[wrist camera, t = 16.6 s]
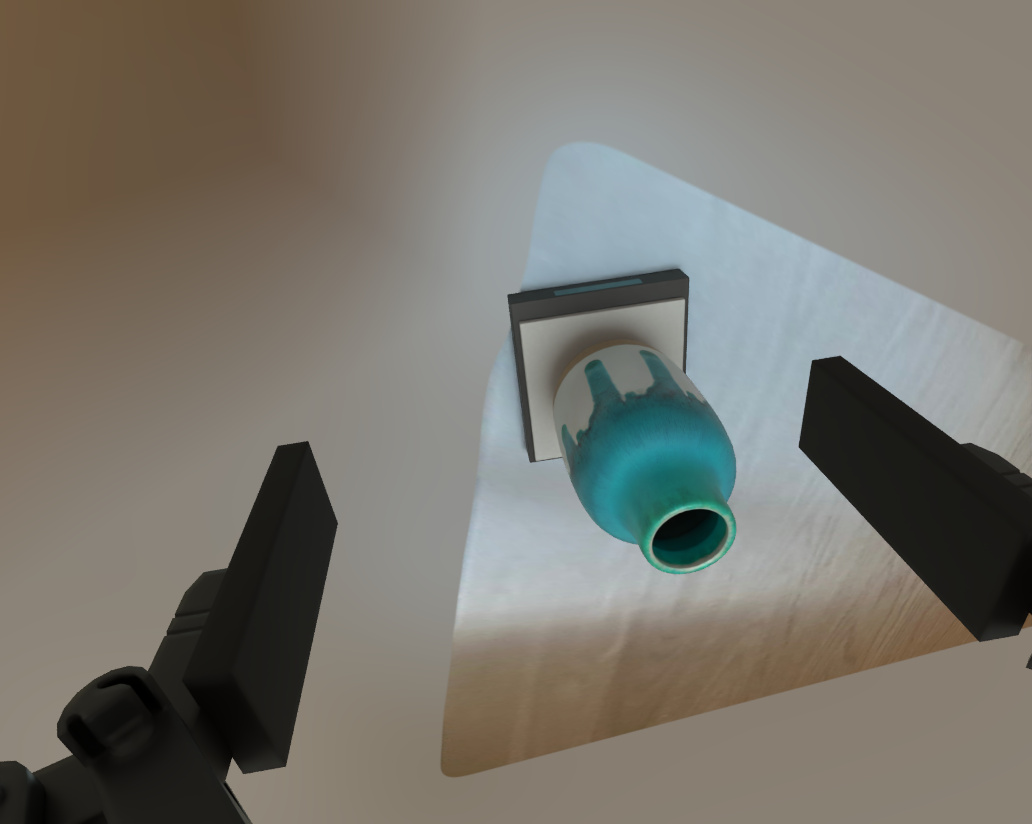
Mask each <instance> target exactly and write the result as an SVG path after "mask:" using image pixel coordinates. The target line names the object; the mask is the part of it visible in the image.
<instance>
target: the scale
mask: <svg viewBox="0 0 1032 824" xmlns="http://www.w3.org/2000/svg"><path fill="white" fill-rule="evenodd" d="M688 297H689V277H688V276H687V275H686V274H685V273H683V272H682V271H681V270H680V269H676V270H670V271H663V272H656V273H650V274H643V275H636V276H629V277H623V278H616V279H609V280H602V281H596V282H589V283H582V284H575V285H569V286H562V287H555V288H549V289H542V290H535V291H528V292H522V293H515V294H509V295H508V304H509V312H510V320H511V328H512V336H513V343H514V351H515V359H516V367H517V375H518V383H519V391H520V399H521V407H522V415H523V423H524V431H525V439H526V447H527V452H528V456H529V461H530V463H531V462H537V461H544V460H550V459H556V458H562V454H561V451H560V447H559V443H558V439H557V434H556V429H555V424H554V418H553V398H554V391H555V388H556V385H557V381H558V379H559V377H560V376H561V374H562V372H563V370H564V369H565V367H566V366H567V365H568V363H569V362H570V361H571V360H572V359H573V358H574V357H575V356H576V355H578V354H579V353H580V352H582V351H583V350H585V349H586V348H588V347H590V346H592V345H594V344H597V343H599V342H603V341H607V340H614V339H629V340H635V341H639V342H642V343H645V344H648V345H650V346H652V347H654V348H655V349H657V350H659V351H660V352H662V353H663V354H664V355H666V356H667V357H668V358H669V359H670V360H671V361H672V362H673V363H675V364H676V365H677V366H678V367H679V368H680V369H681V370H682V371H683V372H684V373H685V374H686V350H687V324H688Z"/></svg>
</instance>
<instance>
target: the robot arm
mask: <svg viewBox="0 0 1032 824" xmlns="http://www.w3.org/2000/svg"><path fill="white" fill-rule="evenodd" d="M799 448H800V449H801V450H802V451H803V452H804V453H805V454H806V456H807V457H808V458H809V459H810V460H811V461H812V462H813V463H814V464H815V465H816V466H817V467H818V468H819V470H820V471H821V472H822V473H823V474H824V475H825V476H826V477H827V478H828V479H829V480H830V481H831V482H832V484H833V485H834V486H835V487H836V488H837V489H838V490H839V491H840V492H841V493H842V494H843V495H844V496H845V498H846V499H847V500H848V501H849V502H850V503H851V504H852V505H853V506H854V507H855V508H856V509H857V510H858V512H859V513H860V514H861V515H862V516H863V517H864V518H865V519H866V520H867V521H868V522H869V523H870V524H871V526H872V527H873V528H874V529H875V530H876V531H877V532H878V533H879V534H880V535H881V536H882V537H883V538H884V540H885V541H886V542H887V543H888V544H889V545H890V546H891V547H892V548H893V549H894V550H895V551H896V552H897V554H898V555H899V556H900V557H901V558H902V559H903V560H904V561H905V562H906V563H907V564H908V565H909V566H910V568H911V569H912V570H913V571H914V572H915V573H916V574H917V575H918V576H919V577H920V578H921V579H922V580H923V582H924V583H925V584H926V585H927V586H928V587H929V588H930V589H931V590H932V591H933V592H934V593H935V595H936V596H937V597H938V598H939V599H940V600H941V601H942V602H943V603H944V604H945V605H946V606H947V607H948V609H949V610H950V611H951V612H952V613H953V614H954V615H955V616H956V617H957V618H958V619H959V620H960V621H961V623H962V624H963V625H964V626H965V627H966V628H967V629H968V630H969V631H970V632H971V633H972V634H973V635H974V637H975V638H976V639H977V640H978V641H979V642H982V641H988V640H993V639H999V638H1005V637H1010V636H1016V635H1019V632H1020V630H1021V628H1022V626H1023V624H1024V622H1025V620H1026V618H1027V616H1028V614H1029V613H1030V614H1031V615H1032V478H1030V477H1029V476H1028V475H1026V474H1025V473H1020V471H1019V469H1018V468H1016V467H1015V466H1013V465H1012V464H1011V463H1009V462H1008V461H1006V460H1005V459H1004V458H1002V457H1001V456H999V455H998V454H995V453H993V452H991V451H988V450H986V449H984V448H981V447H979V446H977V445H974V444H972V443H966V444H959V443H958V442H956V441H955V440H954V439H952V438H951V437H950V436H948V435H947V434H946V433H944V432H943V431H941V430H940V429H939V428H937V427H936V426H935V425H933V424H932V423H931V422H929V421H928V420H927V419H925V418H924V417H923V416H921V415H920V414H918V413H917V412H916V411H914V410H913V409H912V408H910V407H909V406H908V405H906V404H905V403H904V402H902V401H901V400H900V399H898V398H897V397H895V396H894V395H893V394H891V393H890V392H889V391H887V390H886V389H885V388H883V387H882V386H881V385H879V384H878V383H877V382H875V381H874V380H872V379H871V378H870V377H868V376H867V375H866V374H864V373H863V372H862V371H860V370H859V369H858V368H856V367H855V366H854V365H852V364H851V363H849V362H848V361H847V360H845V359H844V358H843V357H841V356H837V357H830V358H824V359H818V360H812V364H811V370H810V377H809V383H808V390H807V396H806V403H805V409H804V415H803V422H802V428H801V435H800V441H799ZM337 525H338V523H337V520H336V517H335V514H334V512H333V509H332V506H331V503H330V500H329V497H328V495H327V492H326V489H325V487H324V484H323V481H322V478H321V476H320V473H319V470H318V467H317V465H316V461H315V459H314V456H313V453H312V450H311V448H310V445H309V442H308V441H306V442H300V443H293V444H287V445H281V446H278V447H277V449H276V452H275V454H274V456H273V459H272V461H271V464H270V466H269V469H268V471H267V474H266V476H265V478H264V481H263V483H262V486H261V488H260V491H259V493H258V496H257V498H256V501H255V503H254V505H253V508H252V510H251V512H250V515H249V517H248V520H247V522H246V525H245V527H244V530H243V532H242V534H241V537H240V539H239V542H238V544H237V547H236V549H235V551H234V554H233V556H232V559H231V561H230V564H229V566H228V568H226V569H220V570H215V571H208V572H204V573H203V574H202V575H201V576H200V577H199V578H198V579H197V580H196V581H195V583H193V584H192V586H191V587H190V588H189V589H188V590H187V591H186V592H185V594H184V596H183V598H182V600H181V602H180V604H179V607H178V609H177V611H176V613H175V618H173V619H172V621H171V623H170V626H169V628H168V630H167V636H165V637H164V638H163V640H162V642H161V645H160V647H159V649H158V651H157V653H156V655H155V657H154V660H153V662H152V664H151V666H150V668H149V670H148V671H146V670H145V669H144V668H143V667H133V666H127V667H123V668H119V669H115V670H111V671H110V672H108V673H106V674H104V675H102V676H100V677H98V678H96V679H94V680H93V681H92V682H90V683H89V684H88V685H87V686H85V687H84V688H83V689H81V690H80V691H79V692H78V693H77V694H76V695H75V696H74V697H73V698H72V700H71V701H70V702H69V703H68V705H67V706H66V707H65V708H64V710H63V712H62V714H61V717H60V719H59V721H58V723H57V737H58V738H59V739H60V740H61V741H62V743H63V744H64V745H65V746H66V747H67V748H68V749H69V750H70V751H71V753H72V754H73V755H71V756H69V757H67V758H65V759H62V760H60V761H58V762H56V763H54V764H51V765H49V766H47V767H45V768H42V769H41V770H38V771H36V772H33V773H31V772H30V771H29V770H28V769H27V768H26V767H25V766H23V765H22V764H20V763H18V762H17V761H4V762H0V824H252V822H251V820H250V819H249V818H248V816H247V814H246V812H245V811H244V809H243V808H242V806H241V805H240V803H239V801H238V800H237V798H236V796H235V795H234V793H233V792H232V790H231V788H230V787H229V786H228V784H227V783H226V781H225V780H226V776H227V773H228V770H229V766H230V762H231V759H232V758H233V759H234V760H235V762H236V764H237V765H238V767H239V768H240V770H241V771H242V773H243V774H247V773H253V772H258V771H264V770H269V769H275V768H281V767H285V766H286V763H287V759H288V754H289V749H290V745H291V740H292V735H293V731H294V725H295V721H296V717H297V712H298V707H299V702H300V698H301V693H302V688H303V683H304V679H305V674H306V670H307V665H308V660H309V655H310V651H311V646H312V642H313V637H314V632H315V628H316V623H317V618H318V614H319V609H320V604H321V600H322V595H323V590H324V585H325V580H326V576H327V571H328V567H329V562H330V557H331V553H332V548H333V543H334V538H335V534H336V529H337ZM1026 668H1029V669H1032V654H1031V656H1030V658H1029V660H1028V663H1027V666H1026Z"/></svg>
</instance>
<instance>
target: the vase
mask: <svg viewBox="0 0 1032 824" xmlns="http://www.w3.org/2000/svg"><path fill="white" fill-rule="evenodd" d="M553 418H554V424H555V429H556V434H557V439H558V443H559V447H560V451H561V454H562V457H563V460H564V463H565V466H566V469H567V472H568V474H569V477H570V479H571V482H572V484H573V486H574V489H575V491H576V493H577V495H578V497H579V499H580V501H581V503H582V505H583V507H584V508H585V510H586V511H587V513H588V514H589V516H590V517H591V518H592V520H593V521H594V522H595V523H596V524H597V525H598V526H599V527H600V528H601V529H603V530H604V531H606V532H607V533H609V534H610V535H612V536H613V537H615V538H617V539H619V540H622V541H625V542H628V543H632V544H638V545H639V547H640V549H641V551H642V553H643V555H644V556H645V558H646V559H647V561H648V562H649V563H650V564H651V565H652V566H654V567H655V568H657V569H658V570H661V571H663V572H666V573H671V574H686V573H692V572H696V571H699V570H702V569H704V568H706V567H708V566H710V565H712V564H714V563H715V562H717V561H718V560H719V559H720V558H722V557H723V556H724V555H725V554H726V552H727V551H728V550H729V549H730V547H731V545H732V544H733V541H734V539H735V535H736V521H735V518H734V515H733V513H732V511H731V510H730V508H729V506H728V504H727V501H728V499H729V497H730V495H731V493H732V490H733V487H734V484H735V478H736V458H735V454H734V450H733V446H732V444H731V441H730V439H729V437H728V435H727V433H726V431H725V429H724V427H723V425H722V423H721V421H720V420H719V418H718V416H717V415H716V413H715V412H714V410H713V409H712V407H711V406H710V405H709V403H708V402H707V401H706V399H705V398H704V397H703V395H702V394H701V393H700V391H699V390H698V389H697V387H696V386H695V385H694V384H693V382H692V381H691V380H690V379H689V378H688V377H687V375H686V374H685V373H684V372H683V371H682V370H681V369H680V368H679V367H678V366H677V365H676V364H675V363H673V362H672V361H671V360H670V359H669V358H668V357H667V356H666V355H664V354H663V353H662V352H660V351H659V350H657V349H655V348H654V347H652V346H650V345H648V344H645V343H642V342H639V341H635V340H629V339H614V340H607V341H603V342H599V343H597V344H594V345H592V346H590V347H588V348H586V349H585V350H583V351H582V352H580V353H579V354H578V355H576V356H575V357H574V358H573V359H572V360H571V361H570V362H569V363H568V365H567V366H566V367H565V369H564V370H563V372H562V374H561V376H560V377H559V379H558V381H557V385H556V388H555V391H554V398H553Z"/></svg>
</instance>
